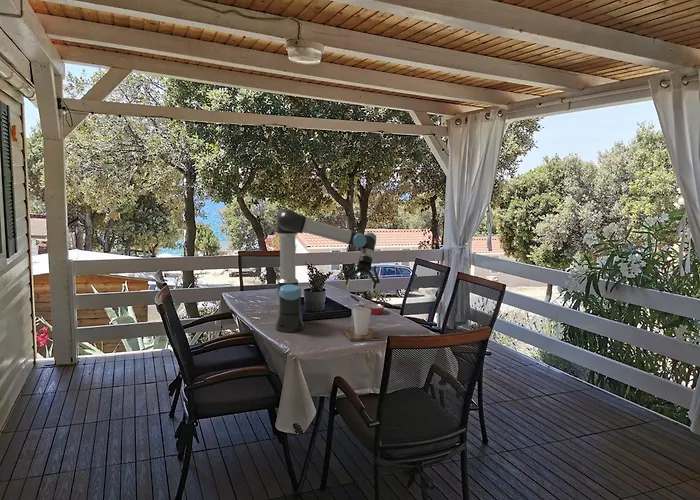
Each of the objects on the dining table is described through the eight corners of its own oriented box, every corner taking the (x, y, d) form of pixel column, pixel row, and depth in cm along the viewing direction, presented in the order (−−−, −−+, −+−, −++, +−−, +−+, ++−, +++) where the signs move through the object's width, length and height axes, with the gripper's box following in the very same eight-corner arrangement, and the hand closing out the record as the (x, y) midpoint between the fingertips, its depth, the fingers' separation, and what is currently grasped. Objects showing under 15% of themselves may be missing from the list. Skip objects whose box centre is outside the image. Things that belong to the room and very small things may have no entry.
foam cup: (368, 336, 251) (369, 312, 249) (350, 335, 253) (351, 310, 251) (371, 331, 260) (372, 308, 258) (354, 330, 262) (355, 306, 260)
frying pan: (340, 305, 325) (341, 296, 324) (355, 303, 333) (356, 294, 333) (372, 316, 301) (372, 306, 300) (387, 313, 309) (388, 303, 308)
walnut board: (350, 341, 247) (350, 338, 247) (343, 333, 261) (343, 330, 261) (380, 339, 251) (380, 337, 251) (371, 331, 266) (371, 329, 266)
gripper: (387, 263, 280) (381, 297, 271) (345, 257, 284) (337, 291, 275) (387, 258, 274) (381, 292, 264) (344, 251, 278) (336, 285, 268)
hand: (359, 291), depth 269 cm, fingers open, 13 cm apart
